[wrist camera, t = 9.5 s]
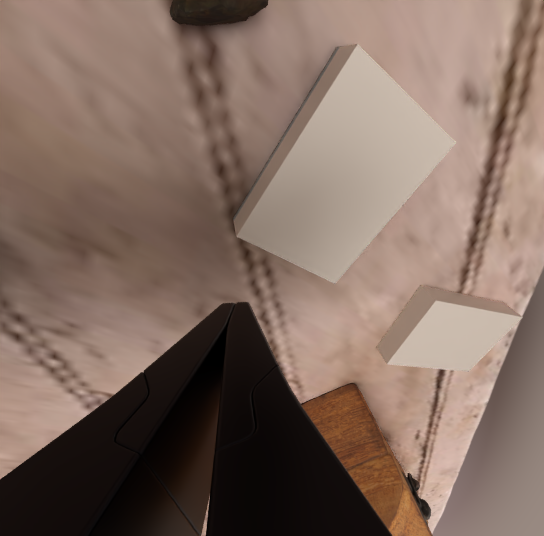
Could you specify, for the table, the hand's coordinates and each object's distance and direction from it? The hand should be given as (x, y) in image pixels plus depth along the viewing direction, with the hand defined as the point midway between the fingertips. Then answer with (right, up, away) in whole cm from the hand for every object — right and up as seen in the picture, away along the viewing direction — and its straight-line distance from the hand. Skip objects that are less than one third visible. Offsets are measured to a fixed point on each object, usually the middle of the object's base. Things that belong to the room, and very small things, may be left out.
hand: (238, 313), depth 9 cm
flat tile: (+5, +7, +10) cm, 13 cm away
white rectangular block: (+13, -4, +18) cm, 23 cm away
